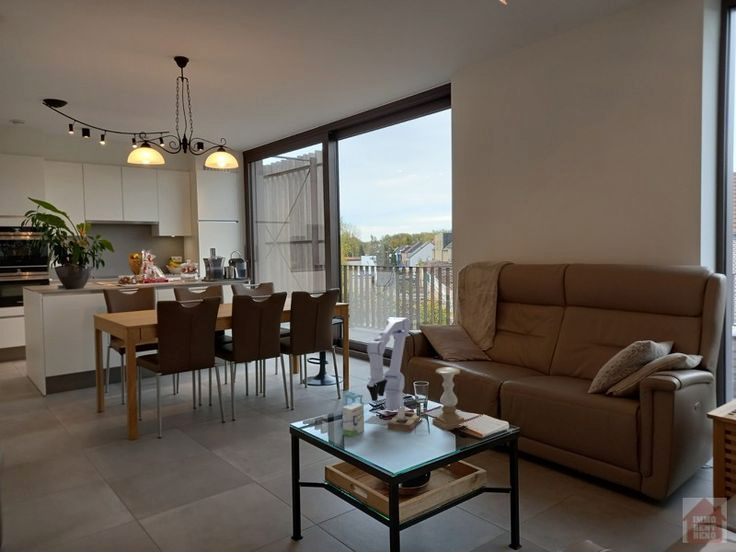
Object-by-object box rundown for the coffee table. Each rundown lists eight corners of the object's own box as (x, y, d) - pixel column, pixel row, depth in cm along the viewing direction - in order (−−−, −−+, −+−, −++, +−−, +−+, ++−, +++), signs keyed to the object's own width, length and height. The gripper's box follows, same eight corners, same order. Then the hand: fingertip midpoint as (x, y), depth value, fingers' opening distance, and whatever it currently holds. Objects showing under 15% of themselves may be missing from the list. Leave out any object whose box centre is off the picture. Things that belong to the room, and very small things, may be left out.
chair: (366, 417, 241) (365, 391, 240) (353, 422, 235) (352, 395, 235) (355, 414, 247) (354, 388, 246) (341, 418, 241) (340, 392, 240)
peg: (399, 426, 228) (399, 405, 228) (406, 427, 227) (405, 406, 226) (396, 428, 226) (396, 407, 225) (403, 429, 224) (402, 408, 224)
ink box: (355, 428, 227) (354, 401, 227) (365, 431, 224) (363, 403, 223) (342, 435, 221) (341, 407, 220) (352, 437, 217) (351, 409, 217)
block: (400, 417, 239) (400, 411, 239) (422, 419, 235) (421, 413, 235) (387, 429, 225) (387, 422, 225) (409, 432, 221) (409, 425, 220)
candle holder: (431, 423, 231) (430, 368, 229) (453, 418, 235) (451, 365, 234) (445, 430, 221) (444, 374, 219) (467, 426, 225) (466, 370, 224)
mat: (372, 416, 243) (372, 415, 243) (393, 418, 239) (393, 417, 239) (363, 423, 234) (363, 422, 234) (384, 425, 230) (384, 425, 230)
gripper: (374, 363, 243) (375, 393, 244) (361, 371, 230) (363, 402, 231) (389, 364, 240) (390, 394, 241) (376, 372, 227) (378, 403, 228)
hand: (377, 398), depth 236 cm, fingers open, 7 cm apart
